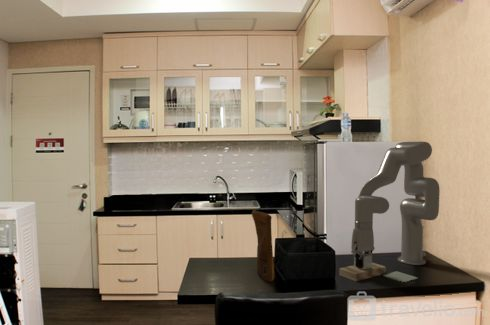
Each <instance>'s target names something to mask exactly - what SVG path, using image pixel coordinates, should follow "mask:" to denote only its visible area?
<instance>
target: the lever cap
mask: <svg viewBox="0 0 490 325" xmlns="http://www.w3.org/2000/svg"><path fill="white" fill-rule="evenodd" d="M358 254H359V253H358ZM361 259H362V268H360V269H363V270H368V269H372V263H373V255H372V254H371V255H370V254H367V253H364V252H362V258H361ZM353 265H354V267H356V258H355V256H354V255H353ZM357 268H358V267H357Z"/></svg>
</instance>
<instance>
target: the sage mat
mask: <svg viewBox="0 0 490 325" xmlns="http://www.w3.org/2000/svg"><path fill="white" fill-rule="evenodd" d="M382 277H386V278H387V279H391V280H393V281H397V282H400V281H401V282H400V283H403V282H405V283H408V282H412V281H415V280H418V279H419V277H416V276H414V275H410V274H407V273H403V272H400V271H397V270H396V271H392V272H390V273H385V274H382ZM411 280H412V281H411Z"/></svg>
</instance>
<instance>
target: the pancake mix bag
mask: <svg viewBox="0 0 490 325" xmlns="http://www.w3.org/2000/svg"><path fill="white" fill-rule="evenodd" d="M251 216H252V220H253V222H254V225H255V227H254V228H255V231H256V232H255V233H256V237H257V248H256V250H257V251H256V253H257V254H256V273H257V274H258V275H259V276H260V277H261V279H262V280H263V281H266V282H270V283H271V282H273V281H274V280H275V268H274V255H273V254H274V253H273V243H272V241H273V240H272V238H273V237H272V215H270V214H268V213H266V212H262V211H258V210H255V209H253V210H252V211H251Z"/></svg>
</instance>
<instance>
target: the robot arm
mask: <svg viewBox="0 0 490 325" xmlns="http://www.w3.org/2000/svg"><path fill="white" fill-rule="evenodd" d="M394 146H395V147H390V148H388V149H387V150H386V151H385V153H384V156H383V159H382V160H381V163H380V165H379V169H378V170H377V173H376V174H375V175H374V176H372V177H371V178H370V179H368V181H366V183H364V184H363V186H362V187H361V189H360V192H358V196H357V197H356V198H355V201H354V228H353V230H352V235H351V236H352V237H351V254H352V255H353V257H354V256H355V258H356V267H358V268H362V259H361V258H362V252H363V253H367V254H370V255H372V254H373V252H374V250H375V246H374V245H375V236H374V229H373V228H374V227H373V224H374V221H373V220H374V214H377V215H378V214H381V215H383V214H386V213H387V211H388V210H389V209H390V202H389V201H388V199H387V198H385V197H382V196H376V195H373V194H374V193H375V191H377V190H378V189H380V188H382V187H385V186H388V185H391V184H393V183H395V181H396V180H397V177H398V174H399V173H400V169H402V168H401V167H402V166H403V167H404V168H403V169H404V176H403V177H404V179H403V181H404V183H403V190H404V193H405V194H407V195H408V196H413V197H422V198H424V199H422V198H411V197H407V198H404V199H403V200H401V202H400V204H399V210H400V216H401V245H400V246H401V250H400V252H401V253H400V254H401V255H400V256H398V257H397V261H398V262H400V263H402V264H406V265H413V266H422V265H426V263H427V261H426V259H424V257H425V256H426V255H427V253H426V252H425V251H423V241H424V240H423V239H424V238H423V237H424V236H423V233H424V232H423V231H424V226H423V223H422V222H421V220H425V221H435V220H436V219H437V218H438V217H439V212H440V211H439V209H440V184H439V182H438V181H437V179H435V178H434V177H433V178H432V177H425V176H424V165H423V163H422V162H424V161H427V160H428V159H429V158H430V157H431V155H432V154H433V147H432V146H431V144H430V143H429V142H428V141H401V142H399V143H396V145H394ZM358 253H359V254H358Z"/></svg>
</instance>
